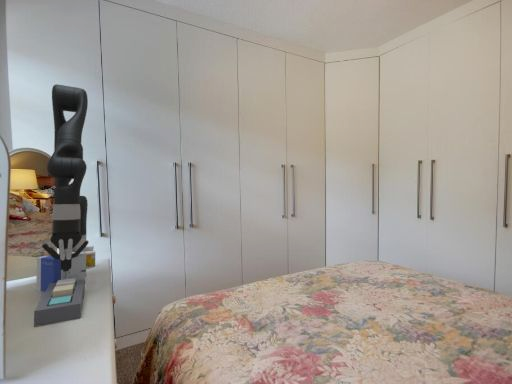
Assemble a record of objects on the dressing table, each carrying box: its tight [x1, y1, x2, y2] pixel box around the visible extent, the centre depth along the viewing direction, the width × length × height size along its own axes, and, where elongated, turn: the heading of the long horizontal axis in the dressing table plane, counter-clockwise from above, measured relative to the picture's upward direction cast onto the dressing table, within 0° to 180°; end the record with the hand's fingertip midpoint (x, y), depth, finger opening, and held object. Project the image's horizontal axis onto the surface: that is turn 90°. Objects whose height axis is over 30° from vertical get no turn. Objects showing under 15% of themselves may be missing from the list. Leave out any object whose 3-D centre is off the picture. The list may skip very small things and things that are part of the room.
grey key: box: [56, 278, 75, 287], centre depth 88 cm, size 5×5×4 cm
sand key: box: [53, 284, 74, 297], centre depth 82 cm, size 5×5×4 cm
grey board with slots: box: [33, 278, 86, 327], centre depth 82 cm, size 24×10×4 cm, turn 30°
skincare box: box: [66, 251, 87, 280], centre depth 101 cm, size 6×4×12 cm
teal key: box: [49, 296, 72, 306], centre depth 76 cm, size 5×5×4 cm
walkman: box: [35, 255, 61, 293], centre depth 95 cm, size 8×3×12 cm, turn 75°
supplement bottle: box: [86, 244, 96, 270], centre depth 125 cm, size 5×5×10 cm
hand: (66, 270), depth 88 cm, fingers closed
